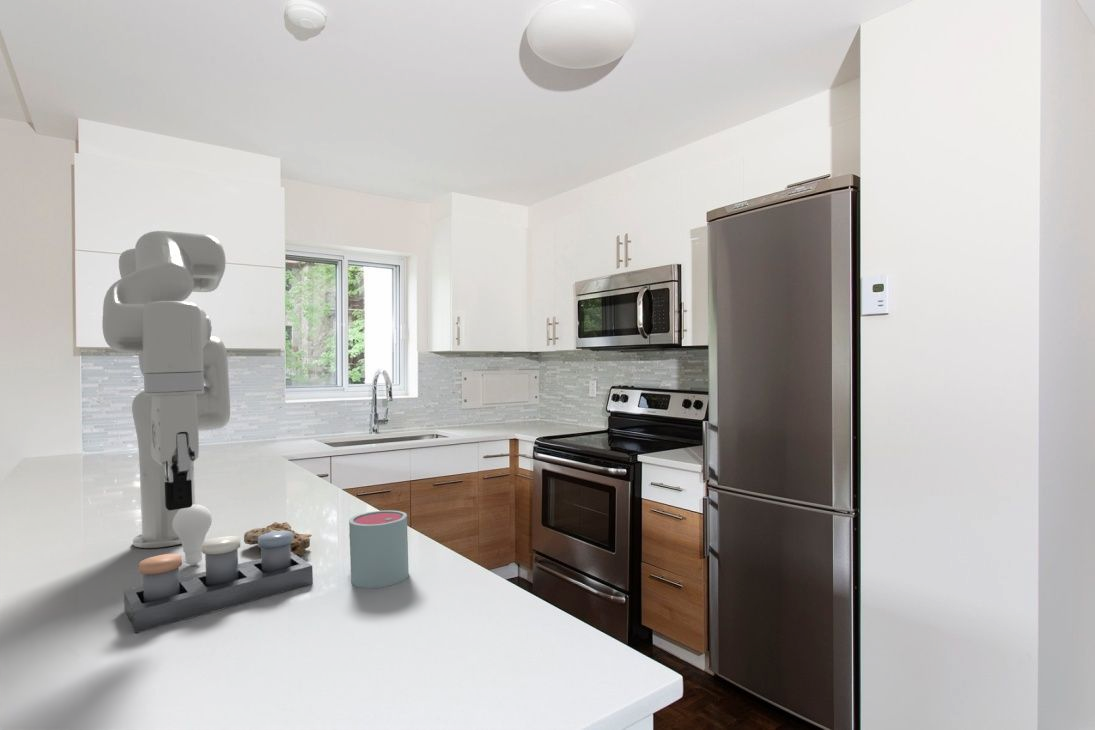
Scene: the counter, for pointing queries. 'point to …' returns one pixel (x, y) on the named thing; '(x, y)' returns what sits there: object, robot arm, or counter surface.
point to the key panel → (214, 593)
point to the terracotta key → (160, 576)
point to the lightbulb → (192, 530)
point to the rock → (299, 540)
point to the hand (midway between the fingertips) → (179, 507)
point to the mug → (378, 548)
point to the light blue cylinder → (275, 550)
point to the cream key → (221, 559)
